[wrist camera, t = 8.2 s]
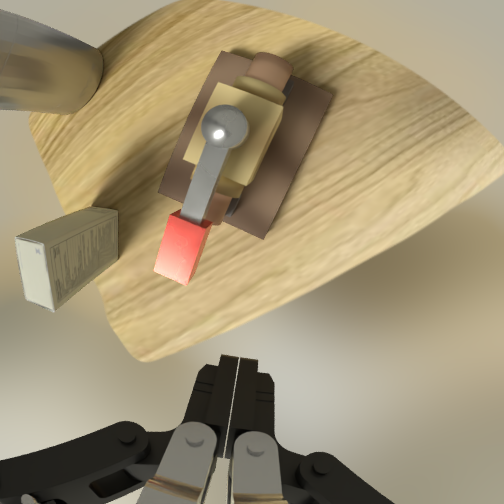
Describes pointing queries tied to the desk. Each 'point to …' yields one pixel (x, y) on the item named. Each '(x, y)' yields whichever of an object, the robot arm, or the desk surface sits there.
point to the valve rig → (250, 138)
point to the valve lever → (200, 194)
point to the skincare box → (66, 255)
